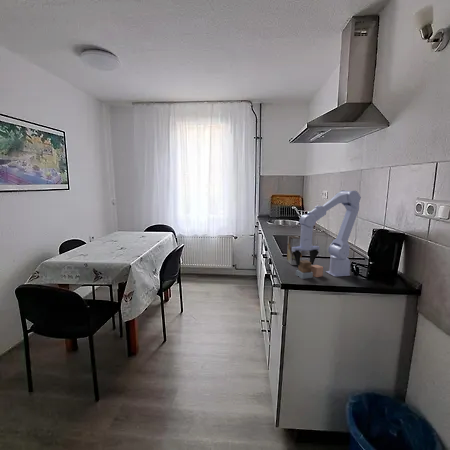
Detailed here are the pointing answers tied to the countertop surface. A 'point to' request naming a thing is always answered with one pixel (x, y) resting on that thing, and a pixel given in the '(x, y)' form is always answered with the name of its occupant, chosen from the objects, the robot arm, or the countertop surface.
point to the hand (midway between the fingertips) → (304, 264)
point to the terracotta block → (317, 270)
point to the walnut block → (304, 266)
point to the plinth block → (304, 274)
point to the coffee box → (292, 242)
